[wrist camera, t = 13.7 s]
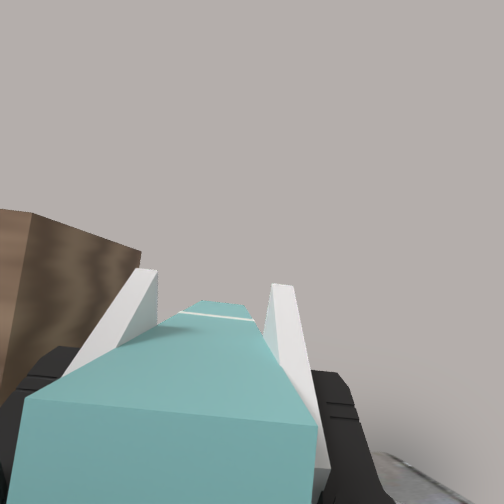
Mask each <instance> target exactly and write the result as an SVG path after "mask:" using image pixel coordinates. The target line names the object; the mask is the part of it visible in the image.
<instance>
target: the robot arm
mask: <svg viewBox="0 0 504 504" xmlns="http://www.w3.org/2000/svg"><path fill="white" fill-rule="evenodd" d="M157 296H158V270H150V269H140V268H135V270H134V271H133V273H132V274H131V276H130V277H129V279H128V280H127V282H126V283H125V285H124V286H123V288H122V289H121V290H120V292H119V293H118V295H117V296H116V298H115V299H114V301H113V302H112V304H111V305H110V307H109V308H108V309H107V311H106V312H105V314H104V315H103V317H102V318H101V320H100V321H99V323H98V324H97V326H96V327H95V329H94V330H93V331H92V333H91V334H90V336H89V337H88V339H87V340H86V342H85V343H84V345H83V346H82V348H76V347H66V346H58V347H56V348H55V349H53V350H52V351H50V352H49V353H47V354H46V355H44V356H43V357H41V358H40V359H39V360H38V361H37V363H36V364H35V365H34V366H33V367H32V369H31V370H30V371H29V372H28V374H27V377H26V378H25V377H24V379H23V380H22V381H21V382H20V383H19V385H18V386H17V387H16V390H15V391H13V392H12V393H11V394H10V396H9V397H8V398H7V399H6V401H5V402H4V403H3V404H2V406H1V407H0V504H6V503H7V497H8V491H9V485H10V480H11V474H12V468H13V463H14V457H15V451H16V445H17V440H18V434H19V428H20V423H21V417H22V411H23V406H24V400H25V397H27V396H29V395H31V394H33V393H34V392H36V391H38V390H40V389H42V388H44V387H45V386H47V385H49V384H51V383H53V382H54V381H56V380H58V379H60V378H62V377H64V376H65V375H67V374H69V373H71V372H73V371H74V370H76V369H78V368H80V367H82V366H84V365H85V364H87V363H89V362H91V361H93V360H94V359H96V358H98V357H100V356H102V355H104V354H105V353H107V352H109V351H111V350H113V349H114V348H117V347H119V346H120V345H122V344H124V343H126V342H128V341H129V340H131V339H133V338H135V337H137V336H139V335H140V334H142V333H144V332H146V331H148V330H149V329H151V328H153V327H155V326H157ZM263 338H264V340H265V342H266V343H267V345H268V347H269V348H270V350H271V352H272V353H273V355H274V357H275V358H276V360H277V362H278V364H279V365H280V366H282V368H283V370H284V371H285V373H286V375H287V376H288V378H289V379H290V381H291V383H292V384H293V386H294V388H295V389H296V391H297V393H298V394H299V396H300V397H301V399H302V401H303V402H304V404H305V406H306V407H307V409H308V410H309V412H310V414H311V415H312V417H313V419H314V420H315V422H316V424H317V425H318V434H317V445H316V456H315V467H314V477H313V488H312V499H311V504H396V503H395V501H394V500H393V499H392V498H391V497H390V496H389V495H388V494H386V493H385V491H384V490H383V488H382V485H381V483H380V481H379V478H378V475H377V472H376V469H375V466H374V463H373V460H372V457H371V454H370V451H369V447H368V444H367V441H366V438H365V435H364V432H363V429H362V426H361V423H359V417H358V414H357V411H356V408H355V407H354V405H355V404H354V401H353V399H352V395H351V392H350V389H349V387H348V386H347V385H346V383H345V382H344V381H343V379H342V378H341V377H340V376H339V374H338V373H335V372H325V371H315V370H310V365H309V360H308V355H307V351H306V345H305V340H304V336H303V331H302V326H301V321H300V317H299V312H298V307H297V302H296V298H295V293H294V287H293V286H291V285H283V284H274V283H273V284H272V286H271V292H270V298H269V303H268V309H267V315H266V321H265V327H264V332H263Z"/></svg>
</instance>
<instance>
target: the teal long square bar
mask: <svg viewBox="0 0 504 504" xmlns="http://www.w3.org/2000/svg"><path fill="white" fill-rule="evenodd" d="M317 434H318V425H317V424H316V422H315V420H314V419H313V417H312V415H311V414H310V412H309V410H308V409H307V407H306V406H305V404H304V402H303V401H302V399H301V397H300V396H299V394H298V393H297V391H296V389H295V388H294V386H293V384H292V383H291V381H290V379H289V378H288V376H287V375H286V373H285V371H284V370H283V368H282V366H280V365H279V364H278V362H277V360H276V358H275V357H274V355H273V353H272V352H271V350H270V348H269V347H268V345H267V343H266V342H265V340H264V338H263V335H262V334H261V332H260V331H259V329H258V327H257V326H256V324H255V320H254V319H252V317H251V316H250V314H249V313H248V311H247V309H246V308H245V306H244V305H238V304H229V303H220V302H211V301H203V300H202V301H200V302H198V303H196V304H194V305H193V306H191V307H189V308H187V309H185V310H184V311H179V312H178V314H177V315H174V316H173V317H171V318H169V319H167V320H165V321H164V322H162V323H160V324H158V325H157V326H155V327H153V328H151V329H149V330H148V331H146V332H144V333H142V334H140V335H139V336H137V337H135V338H133V339H131V340H129V341H128V342H126V343H124V344H122V345H120V346H119V347H117V348H114V349H113V350H111V351H109V352H107V353H105V354H104V355H102V356H100V357H98V358H96V359H94V360H93V361H91V362H89V363H87V364H85V365H84V366H82V367H80V368H78V369H76V370H74V371H73V372H71V373H69V374H67V375H65V376H64V377H62V378H60V379H58V380H56V381H54V382H53V383H51V384H49V385H47V386H45V387H44V388H42V389H40V390H38V391H36V392H34V393H33V394H31V395H29V396H27V397H25V400H24V406H23V411H22V417H21V423H20V428H19V434H18V440H17V445H16V451H15V457H14V463H13V468H12V474H11V480H10V485H9V491H8V497H7V503H6V504H311V499H312V488H313V477H314V467H315V456H316V445H317Z"/></svg>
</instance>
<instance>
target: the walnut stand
mask: <svg viewBox="0 0 504 504" xmlns="http://www.w3.org/2000/svg"><path fill="white" fill-rule="evenodd" d="M140 259H141V251H138V250H136V249H133V248H130V247H127V246H124V245H122V244H119V243H116V242H113V241H110V240H107V239H104V238H102V237H99V236H96V235H93V234H91V233H87V232H85V231H82V230H79V229H77V228H74V227H70V226H68V225H65V224H62V223H60V222H57V221H53V220H51V219H48V218H46V217H43V216H40V215H37V214H34V213H29V212H22V211H14V210H6V209H0V407H1V406H2V404H3V403H4V402H5V401H6V399H7V398H8V397H9V396H10V394H11V393H12V392H13V391H15V390H16V387H17V386H18V385H19V383H20V382H21V381H22V380H23V379H24V377H25V378H26V377H27V374H28V372H29V371H30V370H31V369H32V367H33V366H34V365H35V364H36V363H37V361H38V360H39V359H40V358H41V357H43V356H44V355H46V354H47V353H49V352H50V351H52V350H53V349H55V348H56V347H58V346H66V347H76V348H82V346H83V345H84V343H85V342H86V340H87V339H88V337H89V336H90V334H91V333H92V331H93V330H94V329H95V327H96V326H97V324H98V323H99V321H100V320H101V318H102V317H103V315H104V314H105V312H106V311H107V309H108V308H109V307H110V305H111V304H112V302H113V301H114V299H115V298H116V296H117V295H118V293H119V292H120V290H121V289H122V288H123V286H124V285H125V283H126V282H127V280H128V279H129V277H130V276H131V274H132V273H133V271H134V270H135V268H139V265H140Z"/></svg>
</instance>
